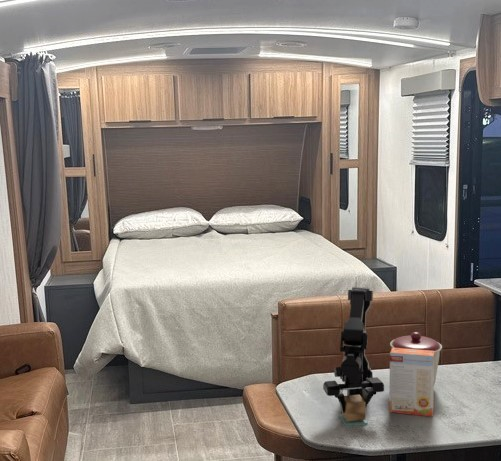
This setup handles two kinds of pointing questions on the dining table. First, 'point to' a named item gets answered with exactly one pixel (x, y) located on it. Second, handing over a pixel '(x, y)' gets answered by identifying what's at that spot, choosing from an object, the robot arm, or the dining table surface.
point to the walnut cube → (354, 408)
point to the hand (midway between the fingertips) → (353, 411)
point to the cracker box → (412, 381)
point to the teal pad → (352, 422)
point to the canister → (419, 346)
